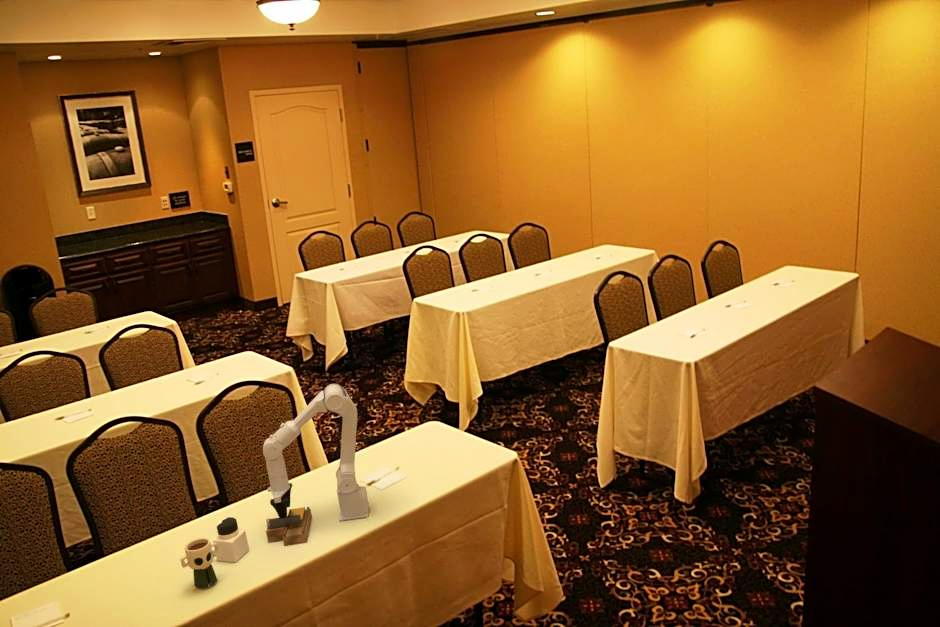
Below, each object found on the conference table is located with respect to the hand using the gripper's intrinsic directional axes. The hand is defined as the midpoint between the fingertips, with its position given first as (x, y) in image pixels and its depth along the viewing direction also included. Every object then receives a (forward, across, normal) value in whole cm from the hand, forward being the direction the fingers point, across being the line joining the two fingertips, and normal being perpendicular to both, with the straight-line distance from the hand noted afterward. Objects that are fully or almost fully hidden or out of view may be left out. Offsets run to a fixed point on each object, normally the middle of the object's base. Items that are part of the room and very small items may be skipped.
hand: (285, 512), depth 251 cm
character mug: (+6, +26, -20) cm, 34 cm away
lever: (+1, +6, 0) cm, 7 cm away
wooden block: (+2, +2, +4) cm, 5 cm away
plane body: (+5, +3, +1) cm, 7 cm away
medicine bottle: (+6, +12, -15) cm, 20 cm away
